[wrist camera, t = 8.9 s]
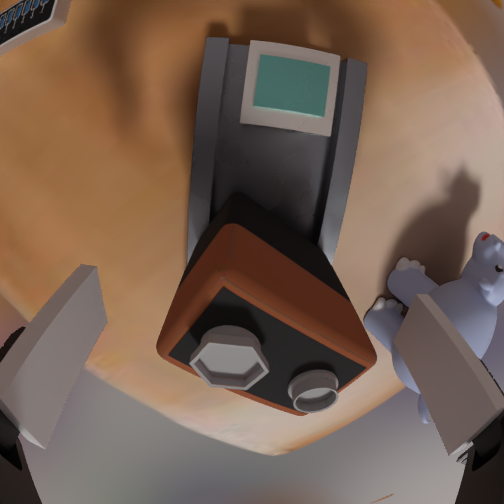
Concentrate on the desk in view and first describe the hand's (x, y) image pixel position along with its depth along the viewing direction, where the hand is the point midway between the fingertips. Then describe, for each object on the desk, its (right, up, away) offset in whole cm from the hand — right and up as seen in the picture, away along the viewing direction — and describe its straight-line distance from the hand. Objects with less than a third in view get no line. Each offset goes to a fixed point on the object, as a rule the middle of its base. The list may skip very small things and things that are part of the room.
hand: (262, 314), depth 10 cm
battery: (0, +3, +6) cm, 7 cm away
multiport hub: (-20, +22, +1) cm, 30 cm away
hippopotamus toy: (+16, -1, +11) cm, 19 cm away
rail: (0, +5, +8) cm, 9 cm away
